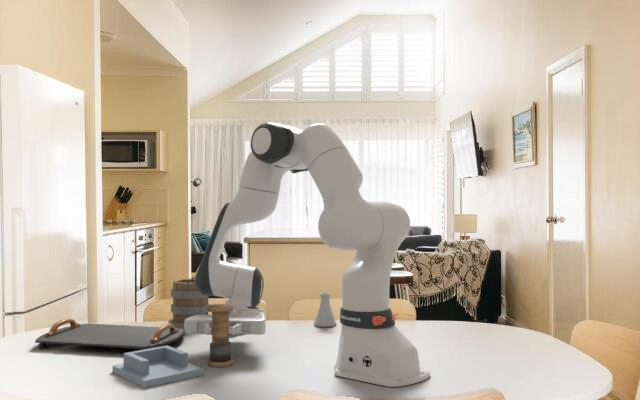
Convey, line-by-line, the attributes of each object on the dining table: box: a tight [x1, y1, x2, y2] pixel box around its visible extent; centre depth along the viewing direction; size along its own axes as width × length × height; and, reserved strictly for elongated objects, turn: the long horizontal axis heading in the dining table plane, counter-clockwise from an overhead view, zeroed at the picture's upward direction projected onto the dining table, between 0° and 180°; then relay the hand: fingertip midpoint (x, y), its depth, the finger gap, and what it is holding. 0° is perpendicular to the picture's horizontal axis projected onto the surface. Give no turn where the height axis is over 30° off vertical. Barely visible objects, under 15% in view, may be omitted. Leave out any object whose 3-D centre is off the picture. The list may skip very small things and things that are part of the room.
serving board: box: [34, 318, 186, 350], centre depth 169 cm, size 39×23×6 cm, turn 78°
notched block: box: [112, 345, 204, 389], centre depth 139 cm, size 16×14×4 cm
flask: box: [313, 292, 338, 328], centre depth 192 cm, size 7×7×10 cm
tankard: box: [168, 278, 211, 329], centre depth 195 cm, size 20×13×15 cm, turn 162°
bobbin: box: [207, 303, 234, 369], centre depth 147 cm, size 6×6×14 cm
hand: (219, 331), depth 146 cm, fingers closed on bobbin, 4 cm apart
